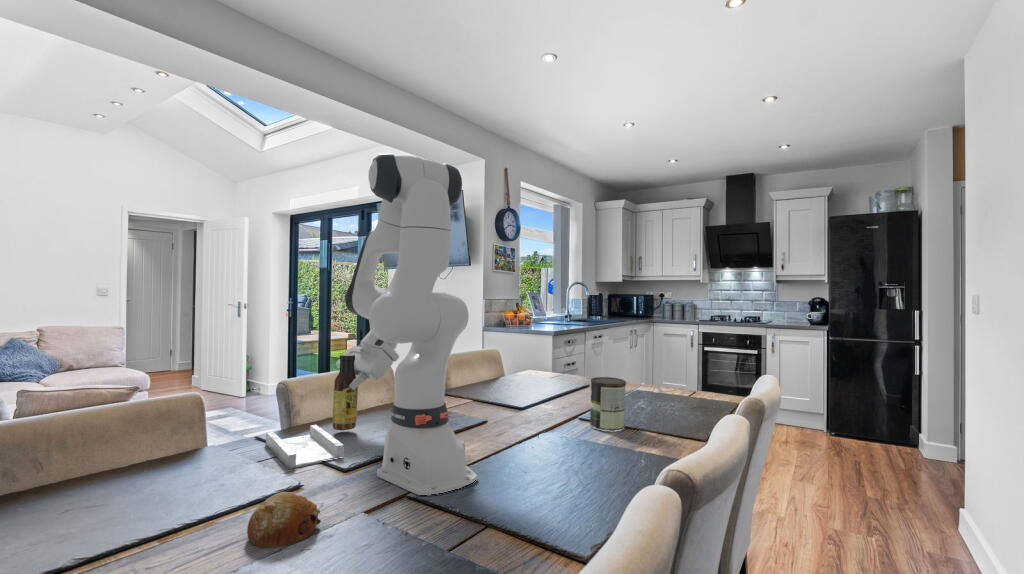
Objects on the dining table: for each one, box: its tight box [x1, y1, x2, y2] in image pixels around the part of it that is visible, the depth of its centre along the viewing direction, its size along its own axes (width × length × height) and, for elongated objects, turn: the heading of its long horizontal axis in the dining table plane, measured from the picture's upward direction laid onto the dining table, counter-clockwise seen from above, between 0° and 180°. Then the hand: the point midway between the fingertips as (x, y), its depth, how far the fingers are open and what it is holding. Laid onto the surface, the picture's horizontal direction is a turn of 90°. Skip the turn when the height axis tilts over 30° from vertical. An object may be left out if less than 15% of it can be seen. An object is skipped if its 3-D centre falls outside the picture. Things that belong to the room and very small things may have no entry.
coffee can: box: [589, 376, 627, 431], centre depth 142 cm, size 10×10×14 cm
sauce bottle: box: [332, 353, 359, 431], centre depth 129 cm, size 6×6×20 cm
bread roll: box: [246, 491, 322, 549], centre depth 77 cm, size 10×10×8 cm
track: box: [265, 424, 345, 470], centre depth 114 cm, size 20×12×3 cm, turn 40°
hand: (343, 385), depth 129 cm, fingers closed on sauce bottle, 6 cm apart
